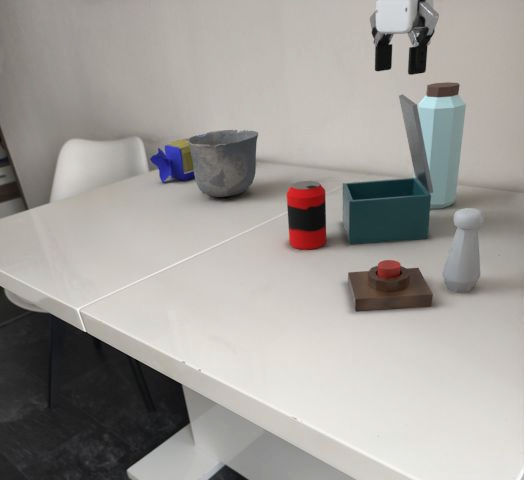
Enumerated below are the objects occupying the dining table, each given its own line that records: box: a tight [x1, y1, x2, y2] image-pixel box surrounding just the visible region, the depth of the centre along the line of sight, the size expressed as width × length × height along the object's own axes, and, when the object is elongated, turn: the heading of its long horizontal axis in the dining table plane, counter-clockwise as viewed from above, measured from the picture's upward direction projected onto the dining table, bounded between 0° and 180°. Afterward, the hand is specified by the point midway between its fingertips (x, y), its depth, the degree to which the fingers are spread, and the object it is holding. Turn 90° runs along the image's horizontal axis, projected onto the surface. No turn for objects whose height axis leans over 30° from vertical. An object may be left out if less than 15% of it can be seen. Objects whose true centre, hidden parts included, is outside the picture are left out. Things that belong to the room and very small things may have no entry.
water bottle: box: [412, 81, 467, 210], centre depth 118 cm, size 10×10×25 cm
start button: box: [377, 259, 402, 278], centre depth 87 cm, size 4×4×2 cm
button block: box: [347, 265, 434, 312], centre depth 88 cm, size 12×10×4 cm
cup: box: [188, 129, 259, 198], centre depth 140 cm, size 18×18×15 cm
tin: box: [342, 177, 431, 245], centre depth 111 cm, size 16×13×9 cm
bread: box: [149, 133, 205, 183], centre depth 163 cm, size 10×25×10 cm, turn 130°
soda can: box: [286, 180, 327, 251], centre depth 108 cm, size 8×8×12 cm
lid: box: [398, 94, 433, 193], centre depth 104 cm, size 16×13×1 cm
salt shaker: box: [442, 207, 484, 293], centre depth 86 cm, size 6×6×13 cm
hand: (399, 71), depth 93 cm, fingers open, 9 cm apart
